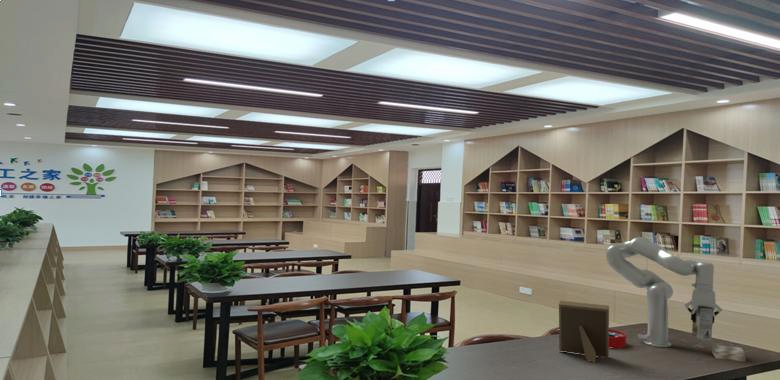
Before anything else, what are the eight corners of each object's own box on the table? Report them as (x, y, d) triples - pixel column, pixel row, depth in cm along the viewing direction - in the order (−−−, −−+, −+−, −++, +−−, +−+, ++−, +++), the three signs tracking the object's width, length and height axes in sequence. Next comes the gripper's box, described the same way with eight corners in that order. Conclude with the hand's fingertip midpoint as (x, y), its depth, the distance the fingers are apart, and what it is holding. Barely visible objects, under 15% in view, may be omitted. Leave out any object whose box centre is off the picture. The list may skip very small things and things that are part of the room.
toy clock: (583, 326, 286) (623, 330, 281) (583, 337, 286) (622, 341, 281) (586, 334, 267) (628, 338, 262) (585, 346, 267) (628, 350, 261)
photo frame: (560, 350, 257) (561, 298, 258) (608, 356, 248) (609, 303, 249) (556, 357, 244) (557, 303, 244) (607, 365, 235) (608, 309, 235)
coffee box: (691, 334, 266) (692, 302, 266) (705, 336, 265) (706, 304, 265) (698, 339, 257) (699, 306, 257) (712, 340, 256) (714, 307, 256)
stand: (715, 358, 251) (715, 349, 251) (712, 352, 261) (712, 344, 261) (745, 361, 246) (745, 353, 247) (740, 356, 257) (740, 347, 257)
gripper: (684, 286, 261) (683, 322, 261) (725, 290, 254) (724, 327, 254) (683, 284, 268) (681, 319, 268) (723, 288, 261) (721, 324, 261)
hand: (702, 322), depth 261 cm, fingers closed on coffee box, 7 cm apart
